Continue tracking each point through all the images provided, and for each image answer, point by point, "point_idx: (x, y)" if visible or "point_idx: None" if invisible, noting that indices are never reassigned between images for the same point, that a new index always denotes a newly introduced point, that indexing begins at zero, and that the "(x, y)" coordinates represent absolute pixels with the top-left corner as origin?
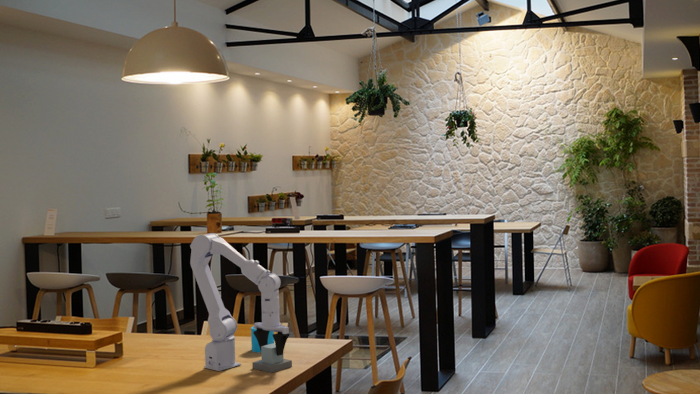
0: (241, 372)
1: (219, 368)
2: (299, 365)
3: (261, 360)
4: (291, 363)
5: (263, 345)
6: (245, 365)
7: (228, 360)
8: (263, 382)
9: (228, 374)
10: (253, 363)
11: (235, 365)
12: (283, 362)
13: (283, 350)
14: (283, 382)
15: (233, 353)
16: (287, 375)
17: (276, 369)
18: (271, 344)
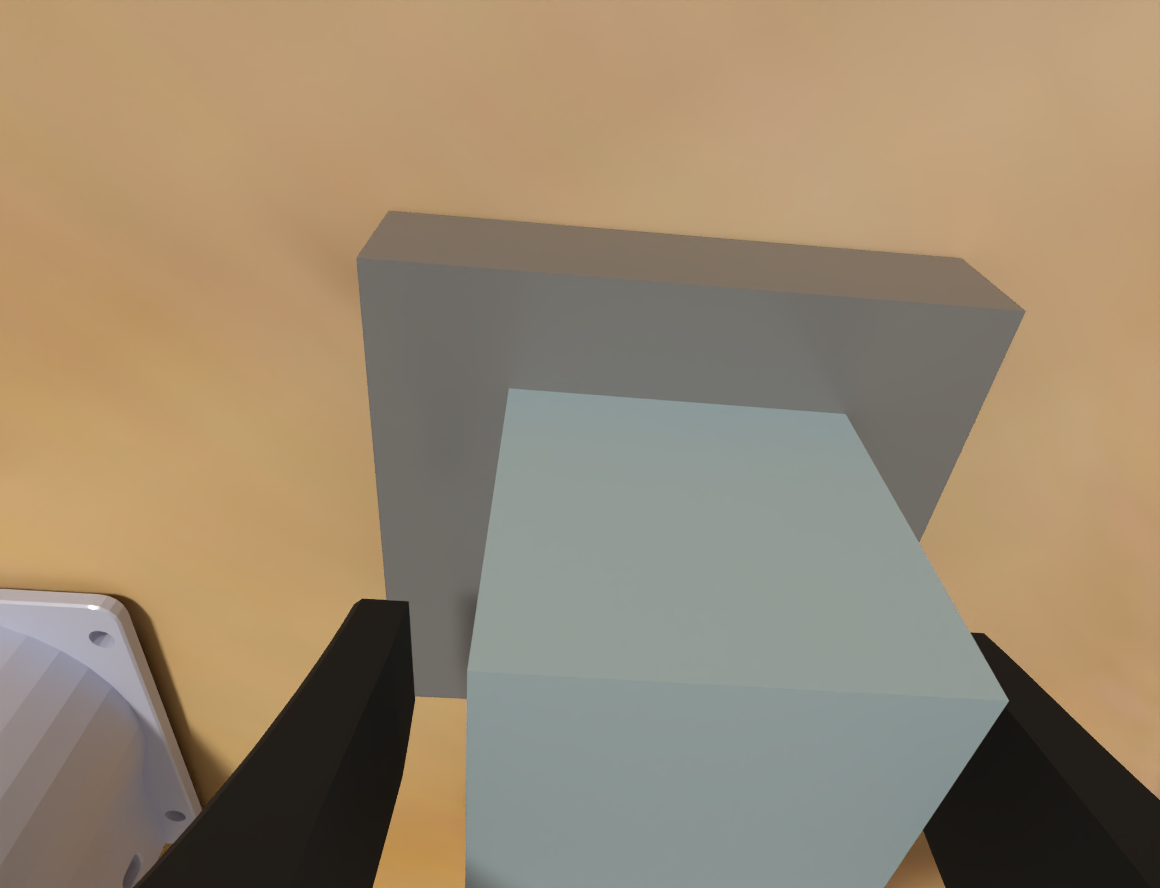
0: (443, 752)
1: (157, 824)
2: (1091, 92)
3: (425, 578)
4: (986, 293)
5: (369, 821)
6: (172, 564)
7: (101, 831)
8: (926, 839)
9: (389, 829)
10: (426, 685)
11: (148, 687)
12: (915, 500)
13: (1057, 712)
14: (1149, 779)
15: (11, 865)
16: (1096, 621)
17: None
18: (552, 761)
